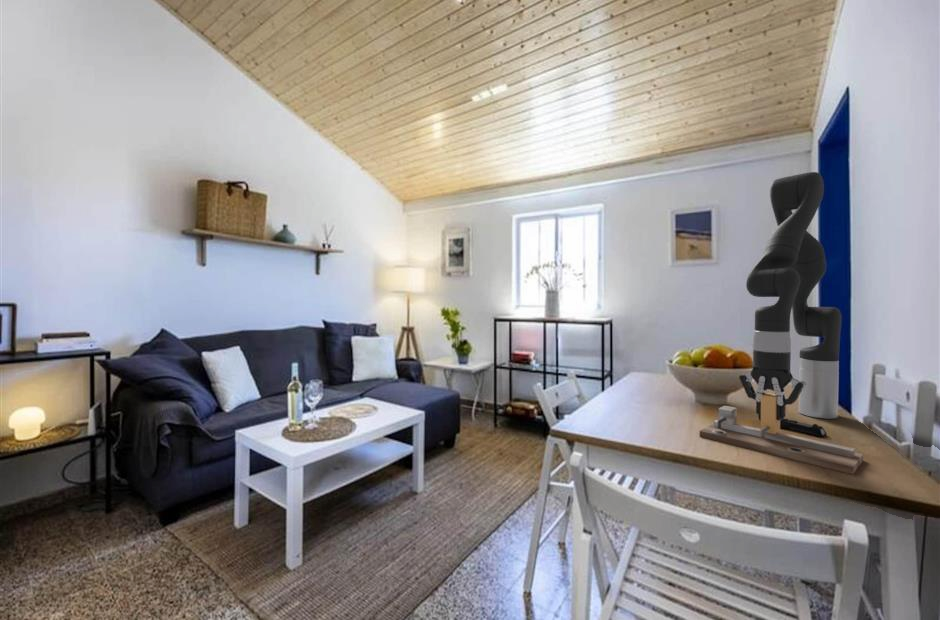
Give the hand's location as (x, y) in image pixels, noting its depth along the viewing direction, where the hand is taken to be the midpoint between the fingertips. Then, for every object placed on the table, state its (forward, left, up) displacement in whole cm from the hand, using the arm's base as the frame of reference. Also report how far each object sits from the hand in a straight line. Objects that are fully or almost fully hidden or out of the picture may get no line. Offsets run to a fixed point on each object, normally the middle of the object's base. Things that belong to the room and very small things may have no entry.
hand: (770, 417), depth 102 cm
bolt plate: (+2, +2, -7) cm, 7 cm away
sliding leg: (+2, 0, -4) cm, 4 cm away
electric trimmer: (-17, 0, -7) cm, 19 cm away
